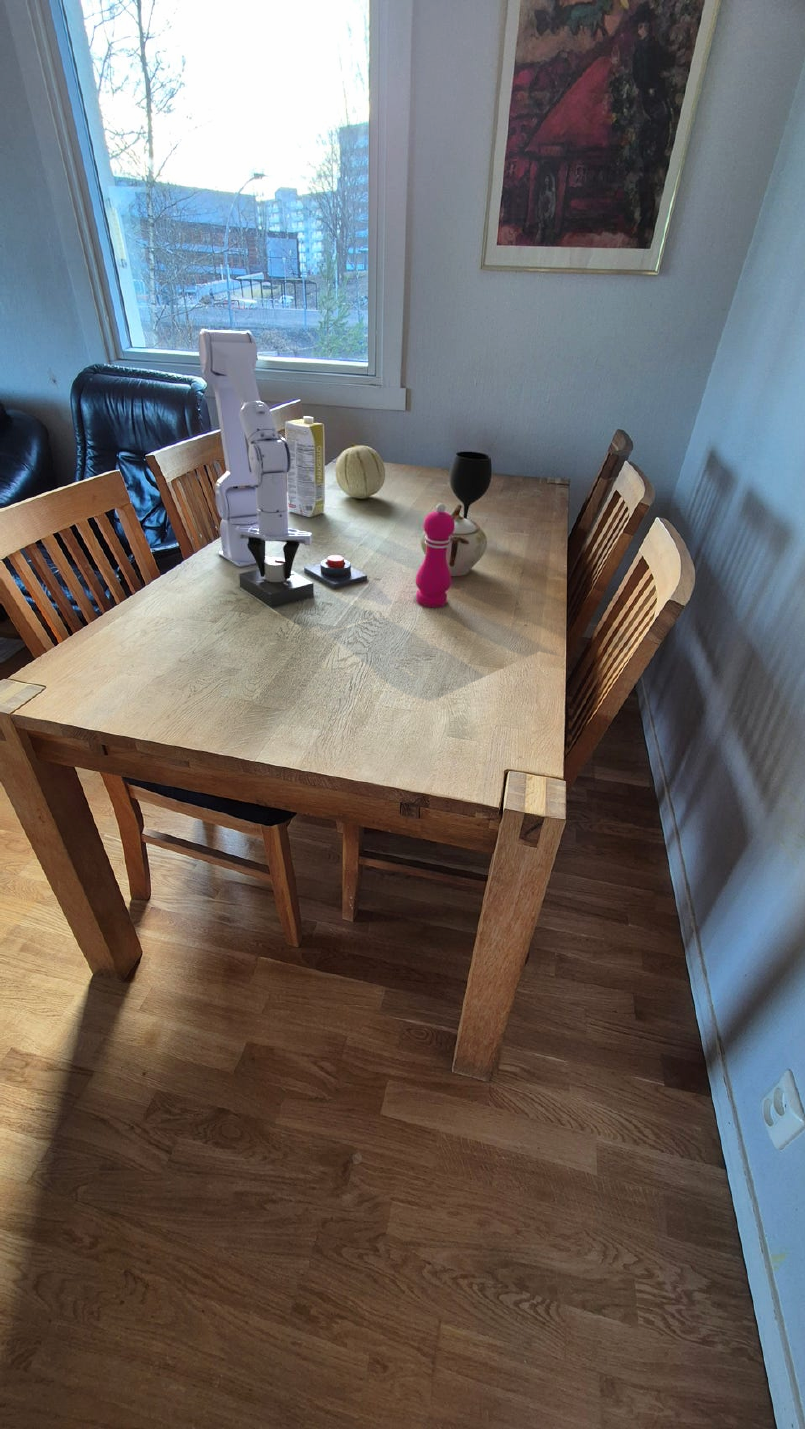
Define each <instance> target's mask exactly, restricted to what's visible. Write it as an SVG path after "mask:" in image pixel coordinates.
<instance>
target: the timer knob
mask: <svg viewBox="0 0 805 1429" xmlns="http://www.w3.org/2000/svg"><path fill="white" fill-rule="evenodd" d="M264 571H265V579H266V580H267V581H270V582H282V581H285V580H286V578H285V557H279V556H270V557H269V558H266V559H265V560H264Z"/></svg>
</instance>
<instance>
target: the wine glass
mask: <svg viewBox="0 0 805 1429" xmlns="http://www.w3.org/2000/svg"><path fill="white" fill-rule="evenodd" d="M492 473H493V469H492V458H491V455H489V454H486V453H482V452H479V451H469V450H468V451H466V450H465V451H464V450H463V451H458V452H456V453H455V454H454V456H453V460H452V463H451V466H450V471H449V486H450V488H451V490H452V492H453V495H455V497H456V498H457V499H458V501H460V502H461V503H462V505H463V517H462V518H465V519H468V513H469V509H470V506H471V505H472V504H474V503H476V502H477V501H478V500H480V499H481V498H482V497H483V496H484V495H485V494H486V492H487V491H488V490H489V487H490V484H491V481H492Z"/></svg>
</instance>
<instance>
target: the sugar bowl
mask: <svg viewBox="0 0 805 1429" xmlns="http://www.w3.org/2000/svg"><path fill="white" fill-rule="evenodd" d="M462 508H463V506H462V504H459V503H458V504H457V505H456V507H455V509H454V511H453V512H452V513H451V514H450V515H451V516H452V517H453V520H454V524H455V527H454V531H453V533H452V534H451V535H450V536H449V537H450V539H451V540H450V546H449V547H447V551H446V561H447V565H448V568H449V572H450V576H451V577H460V576H461V577H462V576H465V575H467V574H468V573H469V572H470V571H471V570H472V569H473V567H475V565H476V564H477V563H478V562H479V561H480V560H481V559H482V557H483V556H484V554H485V553H486V551H487V547H488V539H487V536H486V533H485V531H483V529H482V528H481V527H480V525H479V524H478V523H477V522H476V521H473V520H470V519H468V518H467V519H465V518H463V517H462V516H461V515H460V513H461V510H462ZM426 535H427V534H426V532H425V531H424V530H423V531H422V534H421V536H420V546H421V550H422V552H423V554H424V557H425V556H426V544H425V536H426Z"/></svg>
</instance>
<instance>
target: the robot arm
mask: <svg viewBox="0 0 805 1429" xmlns="http://www.w3.org/2000/svg"><path fill="white" fill-rule="evenodd" d="M197 337H198V338H197V348H198V349H197V350H198V358H199V363H200V370H201V373H202V377H203V379H204V380H205V381H207V382H209V383H210V384H211V385H212V389H213V392H214V397H215V404H216V410H217V416H218V424H219V431H220V438H221V445H222V451H223V458H224V465H225V470H226V471H225V472H224V474H222V475H221V476H220V477H219V478H218V479H217V480H216V482H215V485H214V490H215V506H216V510H217V513H218V516H219V517H220V518H221V521H220V523H219V531H220V532H219V533H220V541H221V542H220V543H221V551H218V555H219V556H221V557H222V558H224V559H226V560H228V561H229V562H231V563H232V564H233V565H235V566H237V567H239V568H241V567H246V566H251V565H254V564H256V565H257V568H258V569H259V571H260V575H261V577H264V576H265V571H264V560H265V559H266V558H270V557H269V556H268V555H266V542H278V543H279V542H280V543H285V544H284V545H283V546H282V550H283V556H284V557H283V558H284V559H285V578H286V579H289V578H290V576H291V570H292V569H293V565H294V561H295V557H296V554H297V552H298V550H299V547H300V545H301V544H303V545H304V546H311V544H312V542H313V540H312V539H313V538H312V537H313V536H312V534H313V533H312V532H308V531H302V530H299V529H294V528H289V513H288V511H289V508H288V493H287V473H288V472H289V471H290V468H291V454H290V449H289V446H288V443H287V441H286V439H285V438H284V437H283V434H281V433H279V432H278V430H277V427H276V424H275V420H274V418H273V415H272V412H271V410H270V407H269V406H268V404H267V403H265V402H262V401H261V397H260V392H259V389H258V385H257V381H256V376H255V370H256V365H257V360H258V347H257V342H256V339H255V337H254V335H253V333H252V332H251V331H250V330H244V331H239V330H238V331H237V330H214V329H213V330H212V329H211V330H210V329H209V330H208V329H205V328H202V329H200V332H199V333H198V336H197ZM246 441H247V443H246ZM247 444H248V450H247ZM250 470H251V471H250ZM246 486H247V487H246ZM248 486H250V487H248ZM233 487H234V488H233ZM235 487H236V488H235ZM238 487H239V488H238ZM292 571H293V570H292Z"/></svg>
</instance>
